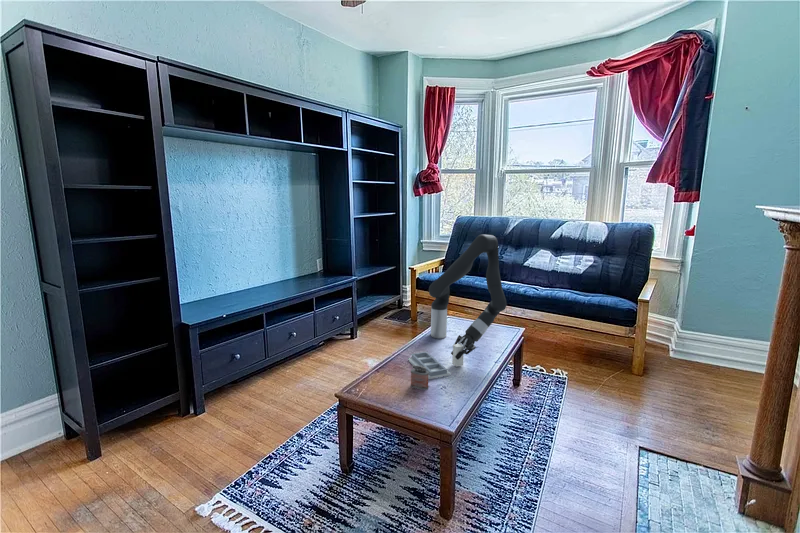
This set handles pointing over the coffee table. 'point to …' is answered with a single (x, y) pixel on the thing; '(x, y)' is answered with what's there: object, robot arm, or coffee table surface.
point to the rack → (429, 365)
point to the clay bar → (455, 351)
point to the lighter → (419, 377)
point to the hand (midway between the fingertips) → (454, 356)
